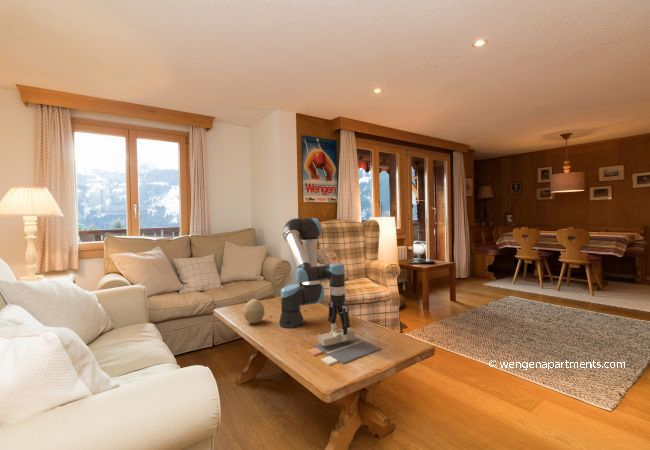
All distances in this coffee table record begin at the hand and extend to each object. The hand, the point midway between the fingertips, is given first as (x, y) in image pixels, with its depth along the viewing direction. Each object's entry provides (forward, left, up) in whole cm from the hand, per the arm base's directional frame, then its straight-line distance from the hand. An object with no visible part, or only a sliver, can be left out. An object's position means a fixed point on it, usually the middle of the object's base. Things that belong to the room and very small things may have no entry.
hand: (339, 338), depth 163 cm
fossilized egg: (-60, -21, -3) cm, 64 cm away
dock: (+6, -3, -3) cm, 7 cm away
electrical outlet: (0, -1, -1) cm, 2 cm away
